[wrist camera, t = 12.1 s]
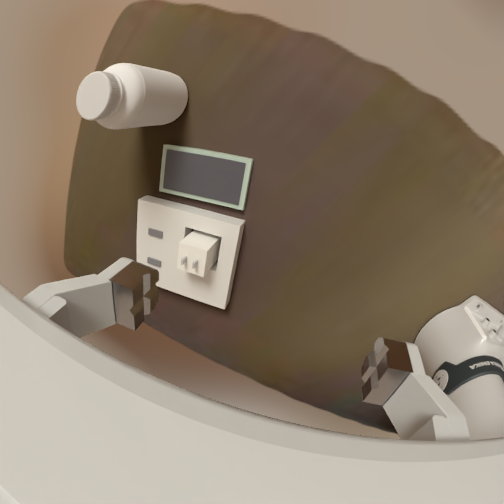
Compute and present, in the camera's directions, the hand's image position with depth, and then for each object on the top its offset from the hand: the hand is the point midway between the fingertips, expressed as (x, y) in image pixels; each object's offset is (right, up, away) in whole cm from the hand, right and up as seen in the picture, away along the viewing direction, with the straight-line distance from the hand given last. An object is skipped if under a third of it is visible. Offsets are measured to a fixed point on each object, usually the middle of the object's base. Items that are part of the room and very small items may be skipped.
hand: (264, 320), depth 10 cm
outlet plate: (-10, +3, +34) cm, 36 cm away
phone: (-7, +13, +29) cm, 33 cm away
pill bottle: (-13, +24, +26) cm, 37 cm away
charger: (-7, +4, +33) cm, 34 cm away
